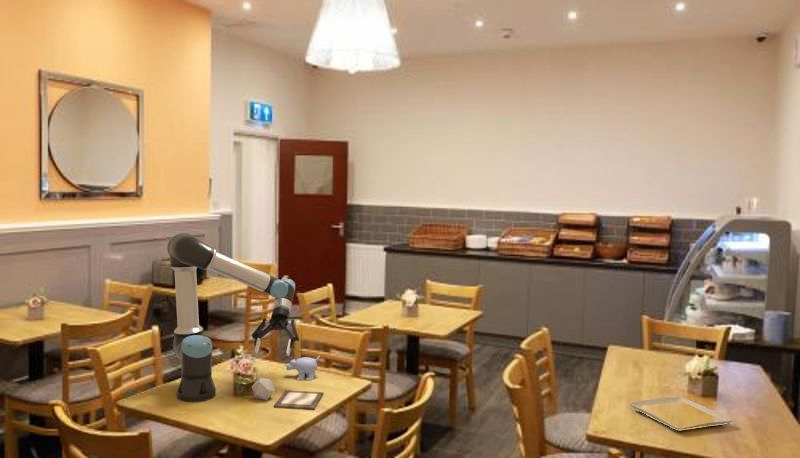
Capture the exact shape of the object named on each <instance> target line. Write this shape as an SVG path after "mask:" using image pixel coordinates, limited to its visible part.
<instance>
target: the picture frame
mask: <svg viewBox="0 0 800 458" xmlns="http://www.w3.org/2000/svg"><path fill="white" fill-rule="evenodd" d="M323 396H324V392H322V391H321V392H320V391H309V390H308V391H307V390H306V391H305V390H290V389H286V390H284V392H283V393H282V394H281V395H280V397H279V398H278V399H277V400H276V402H275V403H274V404H273V408H278V409H279V408H282V409H293V410H294V409H295V410H296V409H297V410H311V411H315V410H316V408H317V407H318V404H319V402H320V401H321V399H322V398H323Z"/></svg>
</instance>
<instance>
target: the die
mask: <svg viewBox="0 0 800 458" xmlns="http://www.w3.org/2000/svg"><path fill="white" fill-rule="evenodd" d="M251 389H252V392H253V395H254V396H255V399H259V400H263V401H267V400H268V399H269V398H270V397H271V396H272V395H273V394H274V393H275V392H276V388H275V387H274V384H273V382H272V379H269V378H264V377H259V379H257V380H256V381H255V382H254V384H252V386H251Z"/></svg>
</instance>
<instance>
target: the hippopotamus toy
mask: <svg viewBox="0 0 800 458" xmlns="http://www.w3.org/2000/svg"><path fill="white" fill-rule="evenodd" d="M320 357H321V356H320V355H318V356H317V357H316V358H312V357H308V356H307V357H306V356H305V357H300V358H297V359H295V358H294V359H291V360H290V361H289V363H286V365H285V368H286V371H291V370H296V371H297V372H298V374H297V375H298V376H297V377H296V380H297V381H303V380H306V381H313V380H314V379H315V375H316V371H317V370H318V361H319V359H320ZM306 375H307V377H306Z"/></svg>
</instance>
